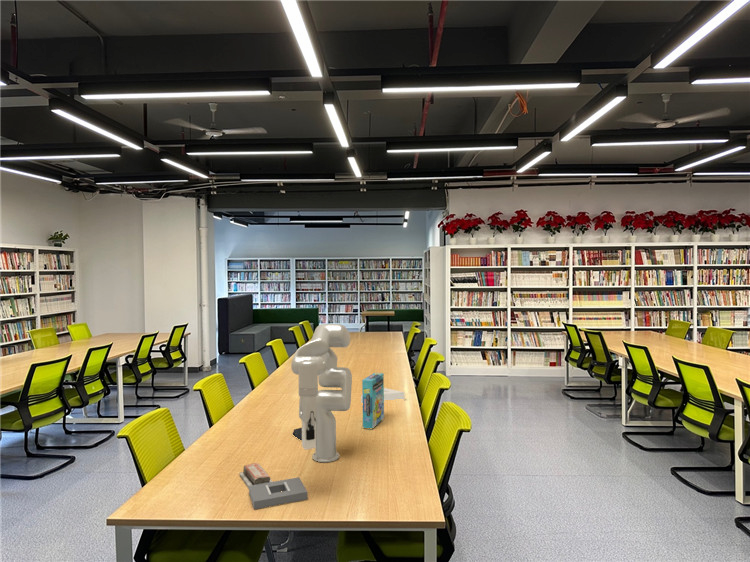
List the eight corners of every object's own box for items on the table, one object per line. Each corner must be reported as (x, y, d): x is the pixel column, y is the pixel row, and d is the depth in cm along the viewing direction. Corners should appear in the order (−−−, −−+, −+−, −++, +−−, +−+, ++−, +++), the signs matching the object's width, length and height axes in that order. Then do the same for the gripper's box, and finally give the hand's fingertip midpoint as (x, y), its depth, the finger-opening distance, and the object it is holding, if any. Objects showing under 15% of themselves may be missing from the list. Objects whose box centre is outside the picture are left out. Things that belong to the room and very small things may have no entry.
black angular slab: (312, 431, 262) (311, 423, 262) (331, 440, 247) (331, 432, 247) (290, 436, 254) (290, 428, 254) (309, 446, 239) (309, 438, 239)
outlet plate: (249, 493, 188) (248, 485, 187) (299, 484, 195) (299, 476, 195) (254, 509, 175) (253, 500, 174) (307, 499, 182) (307, 490, 182)
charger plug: (301, 446, 190) (301, 413, 190) (312, 444, 192) (312, 412, 192) (304, 449, 186) (304, 416, 186) (315, 448, 188) (315, 415, 188)
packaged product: (238, 465, 204) (261, 460, 209) (238, 476, 204) (261, 471, 209) (250, 480, 189) (274, 475, 194) (250, 492, 189) (275, 487, 194)
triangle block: (404, 401, 320) (404, 392, 320) (377, 409, 301) (377, 400, 301) (372, 393, 341) (372, 385, 340) (345, 401, 322) (345, 392, 322)
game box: (373, 430, 261) (372, 380, 261) (362, 428, 263) (361, 380, 263) (384, 419, 281) (384, 373, 280) (374, 418, 283) (373, 372, 282)
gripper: (293, 387, 195) (294, 432, 195) (304, 397, 179) (305, 445, 180) (311, 386, 198) (311, 429, 198) (323, 395, 182) (324, 442, 183)
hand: (308, 437), depth 189 cm, fingers closed on charger plug, 4 cm apart
